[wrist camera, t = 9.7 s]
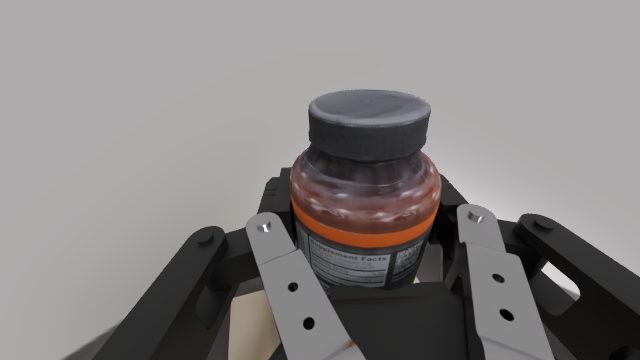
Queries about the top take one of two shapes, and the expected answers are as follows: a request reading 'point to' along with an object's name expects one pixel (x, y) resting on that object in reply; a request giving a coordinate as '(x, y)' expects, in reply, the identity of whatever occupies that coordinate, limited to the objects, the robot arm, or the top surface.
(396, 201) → the supplement bottle
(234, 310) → the birch board
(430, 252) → the top surface
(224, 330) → the top surface
